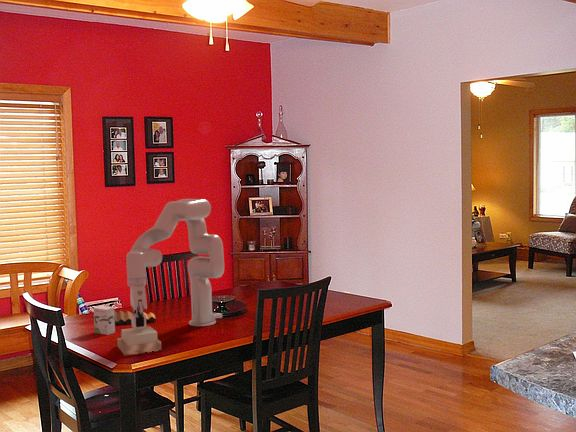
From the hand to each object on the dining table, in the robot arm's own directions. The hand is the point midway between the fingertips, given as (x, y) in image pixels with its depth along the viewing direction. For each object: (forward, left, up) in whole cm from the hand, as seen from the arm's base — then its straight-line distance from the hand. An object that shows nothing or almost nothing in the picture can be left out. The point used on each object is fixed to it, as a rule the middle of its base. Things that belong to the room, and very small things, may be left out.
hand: (138, 324), depth 285 cm
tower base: (0, 0, -11) cm, 11 cm away
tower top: (0, 0, -7) cm, 7 cm away
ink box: (+9, -34, -10) cm, 37 cm away
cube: (0, 0, -1) cm, 1 cm away
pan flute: (-6, -57, -11) cm, 58 cm away
